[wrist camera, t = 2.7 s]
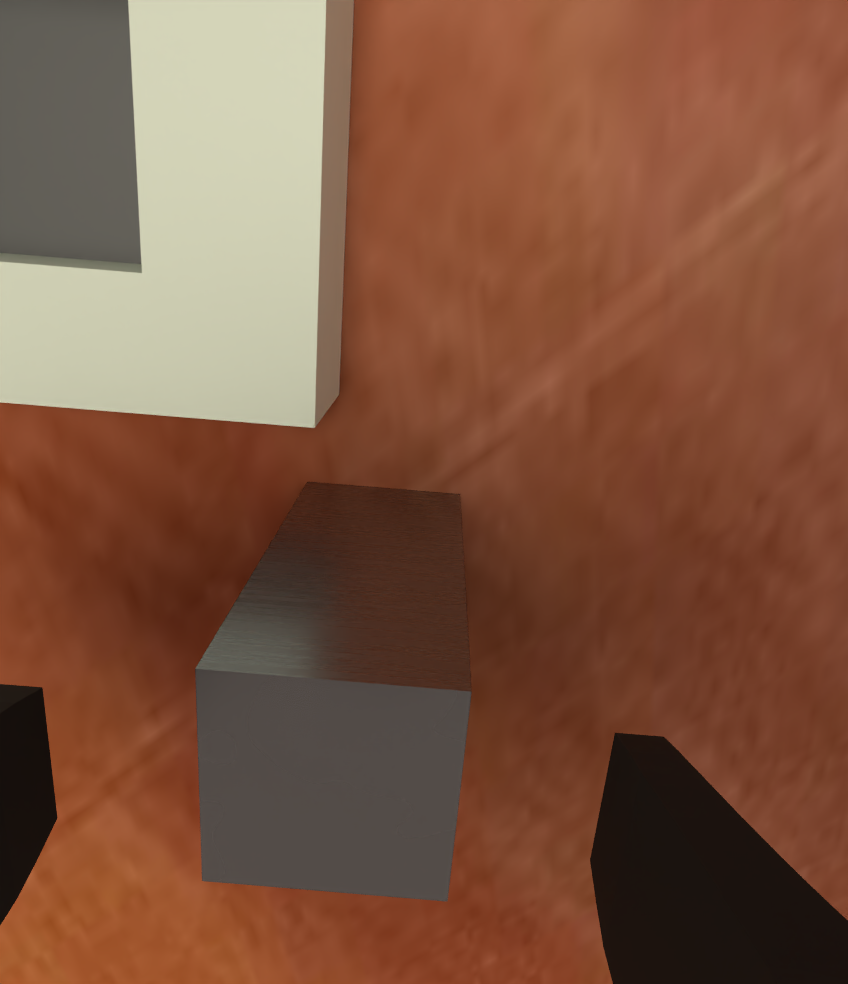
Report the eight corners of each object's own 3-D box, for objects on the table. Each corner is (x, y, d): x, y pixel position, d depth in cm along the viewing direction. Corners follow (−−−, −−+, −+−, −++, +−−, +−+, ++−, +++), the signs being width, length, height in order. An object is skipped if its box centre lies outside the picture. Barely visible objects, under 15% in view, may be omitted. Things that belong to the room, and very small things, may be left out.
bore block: (360, -167, 11) (334, -294, 9) (338, 394, 14) (314, 427, 12) (-266, -215, 11) (-486, -359, 9) (-159, 354, 14) (-298, 378, 12)
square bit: (459, 494, 15) (471, 691, 8) (446, 629, 16) (447, 901, 9) (307, 481, 15) (195, 669, 8) (304, 617, 16) (201, 880, 9)
